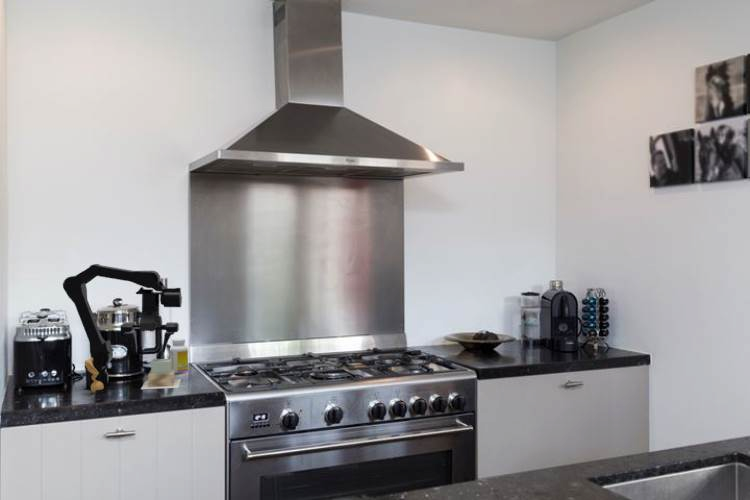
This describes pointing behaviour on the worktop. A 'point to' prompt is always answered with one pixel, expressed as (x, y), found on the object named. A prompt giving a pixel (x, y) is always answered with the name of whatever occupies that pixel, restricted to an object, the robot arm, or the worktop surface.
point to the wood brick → (161, 379)
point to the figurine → (97, 384)
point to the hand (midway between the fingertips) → (149, 352)
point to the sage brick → (161, 366)
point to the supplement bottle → (179, 356)
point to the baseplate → (176, 385)
